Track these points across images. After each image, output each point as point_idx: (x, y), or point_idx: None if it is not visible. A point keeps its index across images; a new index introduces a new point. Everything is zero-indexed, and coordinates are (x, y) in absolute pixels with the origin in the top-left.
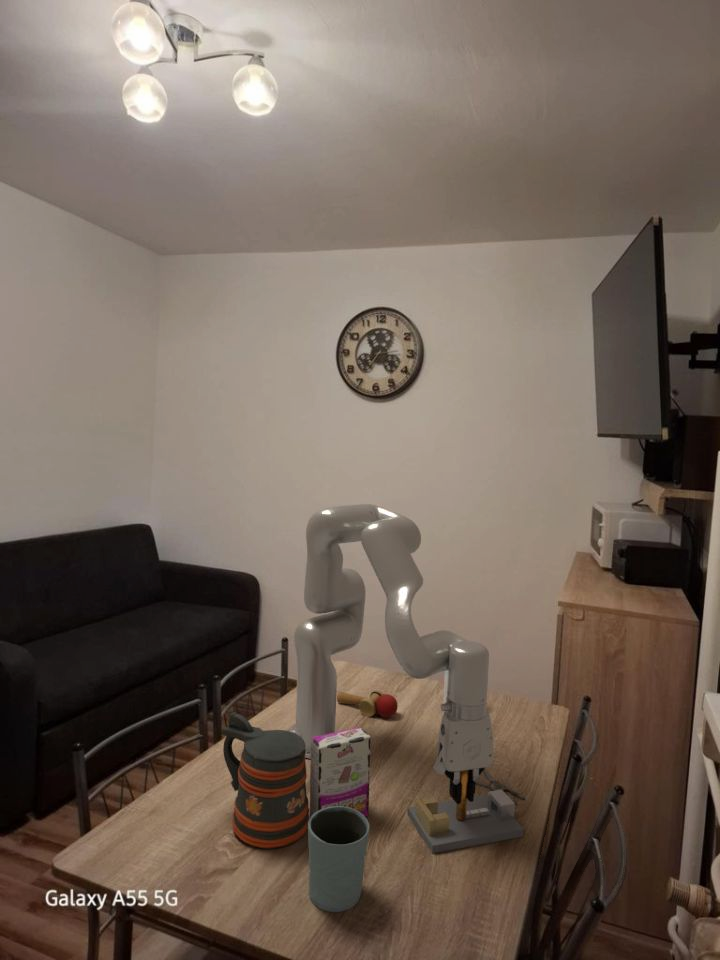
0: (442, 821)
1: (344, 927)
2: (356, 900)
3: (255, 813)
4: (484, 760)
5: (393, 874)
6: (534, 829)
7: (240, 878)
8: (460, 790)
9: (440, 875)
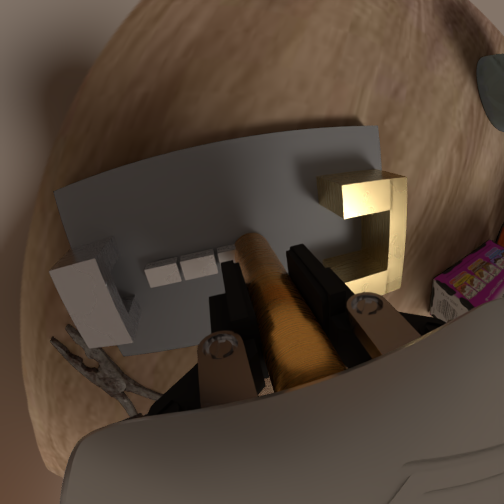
0: (361, 180)
1: (483, 34)
2: (483, 58)
3: None
4: (158, 495)
5: (441, 91)
6: (34, 222)
7: None
8: (317, 275)
9: (362, 49)
